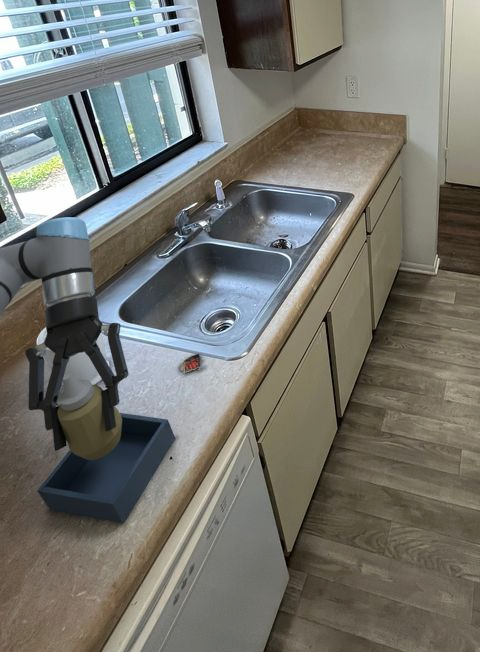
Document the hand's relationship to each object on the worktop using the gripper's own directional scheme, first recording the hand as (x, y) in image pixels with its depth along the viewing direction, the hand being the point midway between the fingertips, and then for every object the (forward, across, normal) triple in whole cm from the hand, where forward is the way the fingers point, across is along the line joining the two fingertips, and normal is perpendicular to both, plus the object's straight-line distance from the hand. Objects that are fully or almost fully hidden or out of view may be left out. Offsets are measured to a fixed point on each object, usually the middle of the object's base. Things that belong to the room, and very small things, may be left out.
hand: (86, 438), depth 73 cm
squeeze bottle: (+3, 0, -8) cm, 8 cm away
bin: (+8, 0, -14) cm, 16 cm away
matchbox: (-5, -14, -27) cm, 31 cm away
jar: (-11, +8, -33) cm, 35 cm away
